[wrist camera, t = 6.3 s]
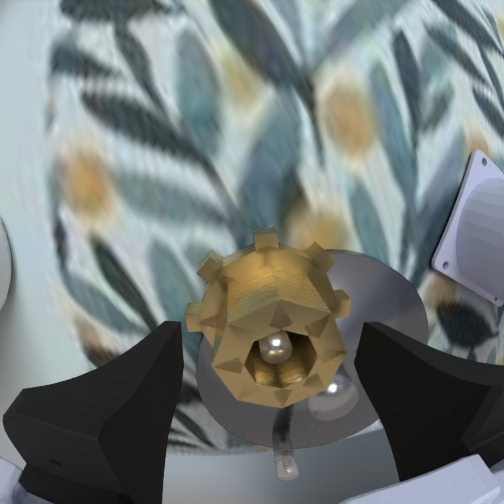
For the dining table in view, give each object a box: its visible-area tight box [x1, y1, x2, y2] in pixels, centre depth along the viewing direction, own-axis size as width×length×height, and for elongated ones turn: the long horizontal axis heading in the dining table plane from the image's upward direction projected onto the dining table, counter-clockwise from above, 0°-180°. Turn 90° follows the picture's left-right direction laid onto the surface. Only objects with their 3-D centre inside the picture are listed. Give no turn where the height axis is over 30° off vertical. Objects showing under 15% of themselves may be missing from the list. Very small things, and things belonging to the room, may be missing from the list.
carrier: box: [196, 249, 428, 481], centre depth 14 cm, size 14×14×5 cm
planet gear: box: [185, 227, 351, 408], centre depth 12 cm, size 7×7×4 cm
